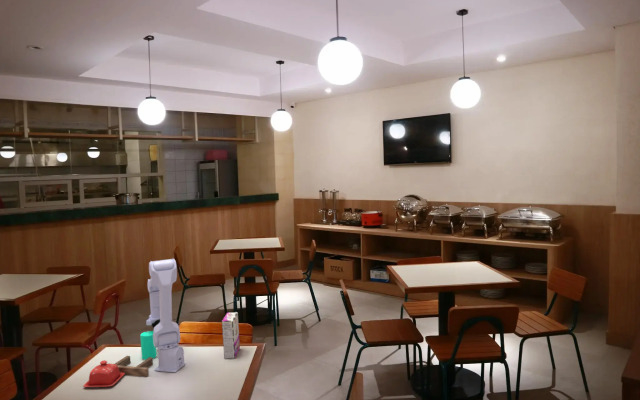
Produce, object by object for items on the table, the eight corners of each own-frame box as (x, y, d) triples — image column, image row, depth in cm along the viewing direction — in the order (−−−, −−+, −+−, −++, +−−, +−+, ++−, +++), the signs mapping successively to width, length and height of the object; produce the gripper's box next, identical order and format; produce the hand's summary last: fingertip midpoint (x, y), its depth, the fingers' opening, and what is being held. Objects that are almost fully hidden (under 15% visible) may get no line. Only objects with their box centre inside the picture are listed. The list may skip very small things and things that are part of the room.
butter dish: (97, 376, 181) (96, 355, 181) (126, 375, 181) (125, 354, 180) (81, 390, 170) (80, 367, 169) (112, 389, 170) (110, 367, 169)
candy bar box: (228, 348, 204) (227, 312, 203) (240, 348, 204) (238, 311, 203) (223, 359, 193) (221, 320, 192) (235, 358, 193) (233, 320, 191)
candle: (159, 354, 200) (157, 327, 199) (152, 360, 194) (151, 332, 193) (145, 354, 201) (144, 327, 200) (139, 360, 195) (137, 332, 194)
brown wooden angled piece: (161, 365, 189) (161, 358, 189) (146, 376, 179) (145, 369, 178) (119, 362, 193) (118, 355, 193) (101, 373, 183) (101, 365, 183)
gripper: (158, 300, 212) (160, 329, 213) (139, 310, 198) (141, 341, 199) (172, 301, 210) (173, 330, 211) (153, 311, 196) (155, 342, 197)
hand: (159, 335), depth 205 cm, fingers closed
